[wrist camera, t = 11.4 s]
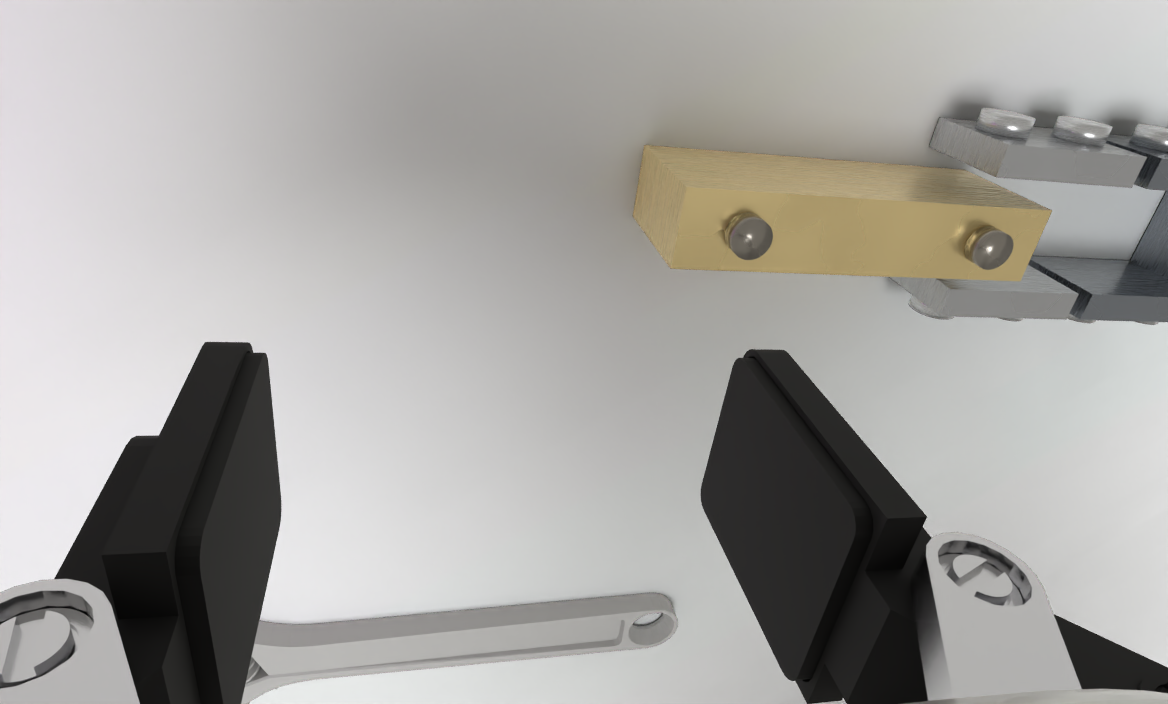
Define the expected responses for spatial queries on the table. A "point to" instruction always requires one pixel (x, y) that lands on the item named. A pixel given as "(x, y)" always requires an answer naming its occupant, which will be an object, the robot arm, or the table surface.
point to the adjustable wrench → (453, 639)
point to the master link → (831, 217)
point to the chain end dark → (1118, 287)
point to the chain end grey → (1026, 154)
